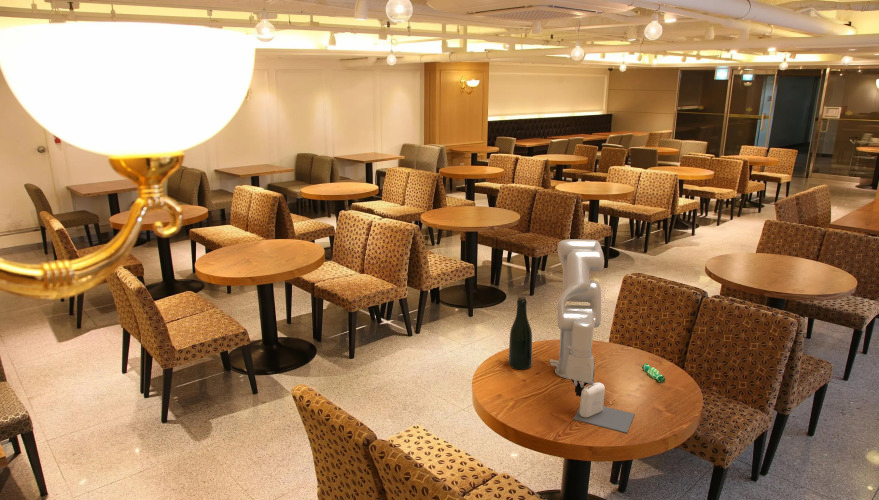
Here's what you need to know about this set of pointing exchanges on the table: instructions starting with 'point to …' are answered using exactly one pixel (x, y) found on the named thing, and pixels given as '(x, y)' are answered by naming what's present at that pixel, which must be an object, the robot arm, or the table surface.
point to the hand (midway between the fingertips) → (579, 394)
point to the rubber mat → (608, 419)
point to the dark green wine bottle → (520, 338)
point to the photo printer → (592, 399)
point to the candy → (653, 373)
